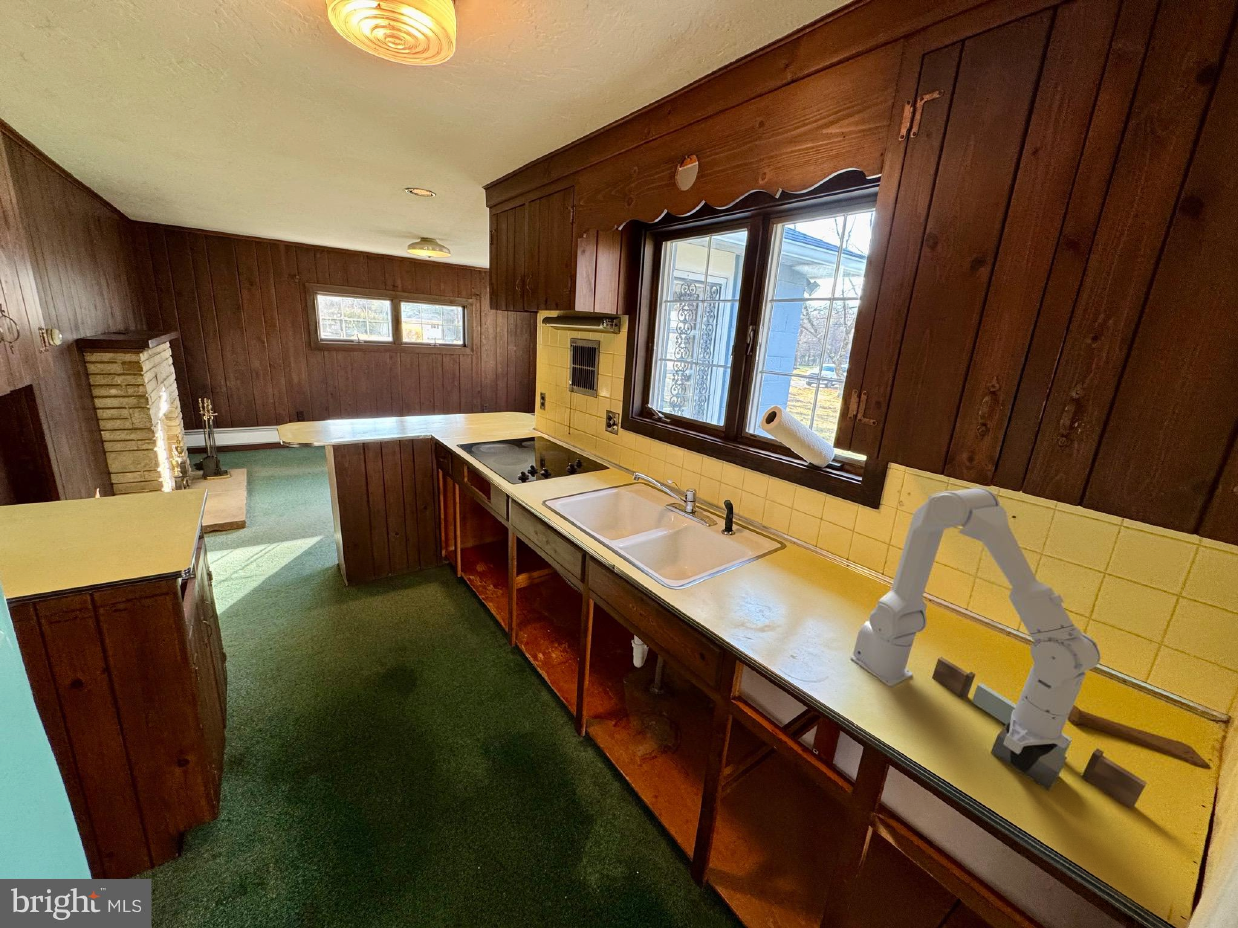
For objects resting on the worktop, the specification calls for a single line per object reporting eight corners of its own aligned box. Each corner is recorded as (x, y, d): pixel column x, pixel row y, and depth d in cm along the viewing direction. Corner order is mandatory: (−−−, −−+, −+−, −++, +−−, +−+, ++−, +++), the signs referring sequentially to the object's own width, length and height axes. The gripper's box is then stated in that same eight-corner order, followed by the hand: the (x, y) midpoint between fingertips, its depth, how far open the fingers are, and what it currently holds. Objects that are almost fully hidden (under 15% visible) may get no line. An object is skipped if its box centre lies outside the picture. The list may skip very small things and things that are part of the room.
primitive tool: (1189, 747, 85) (1197, 732, 84) (1213, 773, 80) (1222, 757, 79) (1060, 713, 91) (1066, 699, 90) (1075, 735, 86) (1082, 720, 85)
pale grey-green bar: (971, 701, 91) (977, 684, 90) (976, 698, 92) (983, 681, 91) (1060, 760, 80) (1069, 741, 78) (1065, 755, 81) (1074, 737, 79)
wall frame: (931, 677, 98) (938, 656, 96) (935, 675, 98) (942, 654, 97) (1130, 809, 72) (1144, 784, 71) (1135, 805, 73) (1149, 779, 71)
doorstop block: (990, 752, 81) (997, 734, 80) (1001, 739, 84) (1008, 722, 82) (1049, 790, 75) (1057, 771, 73) (1058, 775, 77) (1067, 757, 76)
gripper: (1056, 737, 66) (1026, 807, 70) (1098, 704, 73) (1068, 769, 77) (999, 702, 72) (975, 768, 76) (1043, 674, 79) (1018, 736, 83)
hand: (1018, 766), depth 77 cm, fingers closed
